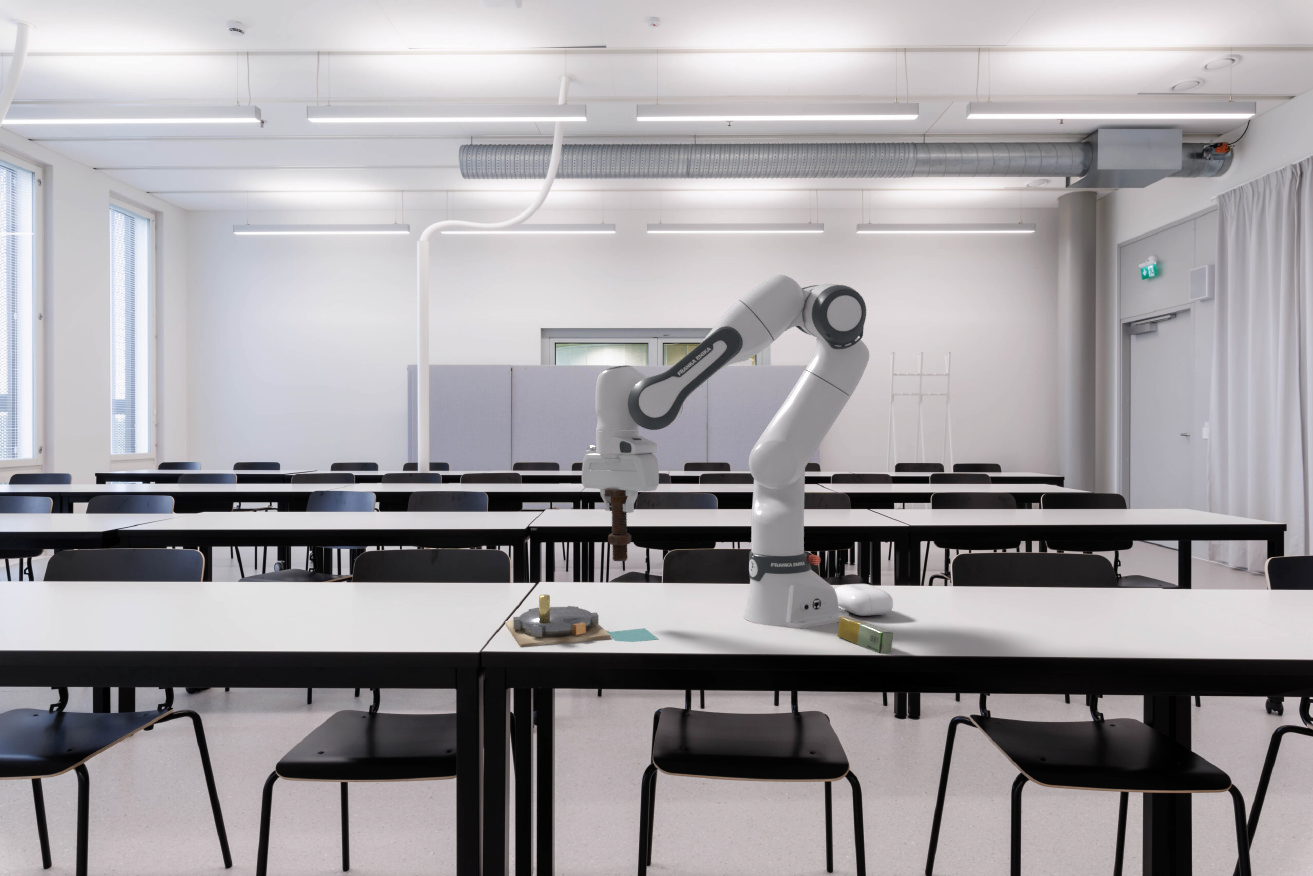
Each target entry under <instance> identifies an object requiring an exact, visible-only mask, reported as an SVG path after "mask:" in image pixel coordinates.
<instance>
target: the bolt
mask: <svg viewBox="0 0 1313 876" xmlns="http://www.w3.org/2000/svg"><path fill="white" fill-rule="evenodd" d="M605 496H607V497H611V506H612V507H611V508H612V509H611V511H610V512H611V533H609V534H608V535H607V536H608V537H607V543H608V544H609V545H612V549H611V550H612V561H614V562H626V561H628V545H629V544H631V542H632V534H630V533H628V528H627V527H628V525H627V524H628V522H627V521H628V514H627V513H626V512H623V504H625V503H626V500H627V497H628V496H626V490H619V489H606V490H605Z"/></svg>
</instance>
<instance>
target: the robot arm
mask: <svg viewBox="0 0 1313 876" xmlns="http://www.w3.org/2000/svg"><path fill="white" fill-rule="evenodd" d="M866 318H867V305H866V302H865V299H864V298H863V296H862V295H861V294H860V293H859V292H858V291H857V290H856V289H855V288H853V287H851V286H848V285H844V284H838V283H837V284H836V283H824V284H819V285H818V284H816V285H810V286H804V287H801V285H800V284H799V283H798V282H797V281H796V280H794V279H793V278H792V277H790V276H787V275H785V274H784V275H783V274H776V275H774V276H771V277H770V278H768V279H767V280H764V281H763V282H761V283H760V284H758V285H757V286H755V287H754V288H752V289H750V290H749V291H748V292H747V293H746V294H745V295H743V296H742V297H740V299H738V300H737V301H736V302H734V304H733V305H732V306H730V308H729V309H728V310H727V311H726V312H724V314H723V315H722V316H721V317H720V319H718V321H717V322H716V324H714V326H713V327H712V329H711V330H710V331H709V333H708V334H707V335H706V336H705V337H704V338H703V340H702V341H701V342H700V343H699V344H698V345H696V346H695V347H694V348H693V349H692V350H691V351H689V352H688V353H687V354H686V355H685V356H683V357H682V358H681V359H680V360H679V361H677V362H676V363H675V364H673V365H672V366H671V367H670V368H669V369H667V370H666V371H665V372H662V373H659V374H656V375H653V376H649V375H646V374H644V373H642V372H640V371H639V370H638V369H636V368H634V366H632V365H618V366H613V367H609V368H606V369H603V370H602V371H601V372H600V373H599V374H598V376H597V379H596V384H595V393H594V395H595V396H594V397H595V400H594V406H595V408H594V409H595V410H594V411H595V414H596V417H597V422H596V423H597V424H596V428H595V444H596V445H594V444H590V445H589V446H588V447H587V448H586V449H585V450H584V457H583V460H582V465H581V467H582V468H581V484H582V486H583V488H585V489H594V490H595V489H596V490H600V492H599V493H600V497H601V498H602V500H603V503H604V510H605V511H606V512H612V511H611V509H612V508H611V507H612V506H611V497H607V496H605V490H606V489H619V490H626V496H628V497H627V500H626V503H625V504H623V512H626V514H627V513H628V514H629V513H630V514H631V513H634V511H635V503H636V500H637V498H638V496H639V495H638V494H639V493H638V492H651V491H652V492H655V491H656V490H657V489H658V487H659V483H660V482H659V481H660V480H659V479H660V474H659V473H660V472H659V462H658V461H659V460H658V458H657V456H656V453H657V452H658V444H657V442H655V441H653V440H650V439H648V438H646V437H643V436H641V435H640V434H639V433H640V432H639V427H641V428H642V429H645V430H649V431H657V430H658V431H659V430H662V429H664V428H667V427H669V426H671V425H672V424H674V423H675V422H677V420H678V419H679V418H680V416H681V415H682V412H683V409H684V402H686V400H687V398H688V397H689V396H690V395H692V393H693V392H695V391H696V390H697V389H698V388H699V387H700V386H702V385H703V384H704V383H705V382H706V381H708V380H709V379H710V378H711V377H713V376H714V375H715V374H716V373H718V372H719V371H720V370H722V369H724V368H725V367H728V366H730V365H734V364H736V363H741V362H746V361H748V360H749V359H751V358H752V357H755V356H756V355H757V354H760V352H763V351H764V350H765V349H767V348H768V347H769V346H770V345H771V344H773V343H774V342H775V341H777V339H779V337H780V336H781V335H783V334H784V332H787V331H789V330H790V329H792V328H794V327H796V328H797V329H798V330H800V331H801V332H803V333H804V334H807V335H809V336H812V337H814V338H816V347H815V351H814V354H813V357H812V358H811V360H810V361H809V362H808V364H807V365H806V367H805V368H804V370H803V372H802V373H801V374H800V376H799V378H798V380H797V381H796V383H795V385H794V386H793V387H792V388H791V391H790V393H789V394H788V396H787V397H786V399H785V400H784V402H783V403H782V405H781V406H780V407H779V409H778V410H777V411H776V413H775V415H774V416H773V418H772V419H771V420H770V421H769V423H768V425H767V427H766V428H765V430H764V431H762V434H761V435H760V436H759V438H758V440H757V441H756V443H755V444H754V446H753V447H752V449H751V451H750V453H749V456H748V468H749V472H750V475H751V476H752V479H753V490H752V491H753V493H752V504H751V505H752V507H751V519H750V521H751V526H750V527H751V537H750V539H751V546H750V547H751V550H750V551H749V555H748V557H749V559H748V564H749V565H748V571H749V587H748V588H749V591H748V595H747V601H746V607H745V610H744V614H743V618H744V620H746V621H749V622H751V623H752V624H753V623H754V624H758V625H763V626H771V627H774V626H775V627H783V628H784V627H786V628H790V629H791V628H792V629H805V628H811V627H816V626H818V627H819V626H823V625H828V624H834V623H835V624H836V623H839V619H840V617H850V612H849V611H847V610H845V609H843V608H841V607H840V606H839V605H838V598H837V594H836V591H835V589H836V588H835V587H833V585H831V584H830V583H829V582H827V580H825V579H823V577H821V576H820V575H818V574H817V573H816V572H815V571H813V570H812V567H811V565H815V566H819V565H820V563H821V560H822V559H821V557H820V556H819V555H815V554H808V553H807V552H805V551H804V550H805V547H804V544H805V541H804V537H805V531H804V530H805V522H804V521H805V489H806V488H805V486H806V484H805V482H806V481H805V480H806V478H805V477H806V476H805V475H806V467H807V465H808V463H809V462H810V460H811V459H812V457H813V456H814V454H815V452H816V451H817V450H818V448H819V446H820V445H821V443H822V442H823V441H824V438H825V437H826V435H827V434H828V432H829V431H830V429H831V428H832V426H833V425H834V423H835V422H836V421H837V419H838V417H839V416H840V414H841V412H842V411H843V410H844V408H845V406H846V405H847V403H848V401H849V400H850V398H851V397H852V395H853V393H854V392H855V390H856V389H857V386H858V385H859V383H860V382H861V379H862V377H863V375H864V372H865V371H866V368H867V366H868V363H869V361H870V360H869V359H870V351H869V348H868V347H867V345H866V343H864V341H862V338H863V336H864V330H865V329H864V327H865V323H866Z"/></svg>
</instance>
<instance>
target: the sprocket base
mask: <svg viewBox="0 0 1313 876" xmlns="http://www.w3.org/2000/svg"><path fill="white" fill-rule="evenodd" d="M504 624H505V627H506V628H507V630H508V631H509V633H510V634H511V636H512V637H513V639H514V640H515V642H516V643H517V645H518V646H519V648H524V646H526V647H535V645H537V646H546V645H545V644H548V645H558V644H571V643H579V642H589V641H600V640H611V637H610V634H609V633H608V632H609V631H607V630H605V628H603V626H601V625H600V624H599V623H598V624H596V625H592V626H591V628H589V629H588V630H586V633H583V634H579V635H574V634H570V635H561V636H543V637H535V636H531V634H528V633H525V632H523V631H522V630H521V629H514V628H513V619H512V620H505V623H504Z"/></svg>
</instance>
